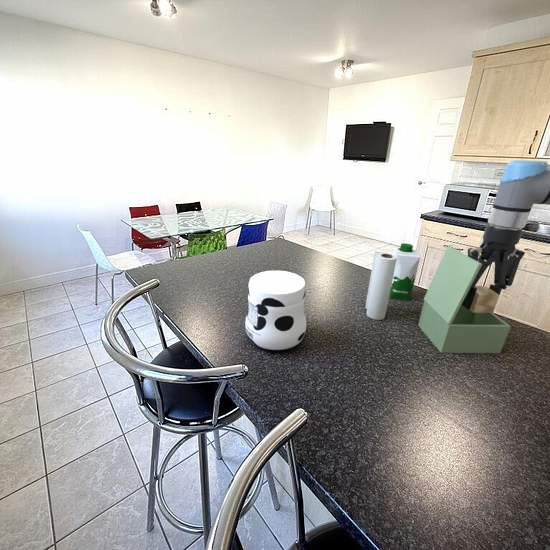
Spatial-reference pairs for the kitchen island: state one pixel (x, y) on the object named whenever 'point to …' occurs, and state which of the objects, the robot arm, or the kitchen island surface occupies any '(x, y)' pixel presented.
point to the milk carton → (404, 272)
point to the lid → (451, 283)
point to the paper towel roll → (380, 284)
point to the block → (484, 300)
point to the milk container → (276, 310)
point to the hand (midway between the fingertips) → (476, 306)
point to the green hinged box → (464, 331)
